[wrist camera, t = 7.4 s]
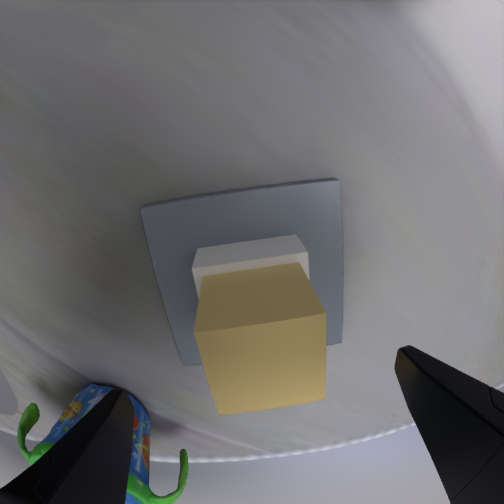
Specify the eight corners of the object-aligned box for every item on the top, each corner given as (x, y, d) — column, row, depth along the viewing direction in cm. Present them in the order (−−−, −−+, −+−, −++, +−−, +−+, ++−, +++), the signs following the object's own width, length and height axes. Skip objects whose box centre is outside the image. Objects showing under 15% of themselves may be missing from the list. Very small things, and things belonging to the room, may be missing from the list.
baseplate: (334, 177, 18) (340, 180, 17) (337, 335, 23) (341, 342, 22) (144, 204, 18) (139, 208, 17) (184, 357, 22) (183, 365, 21)
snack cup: (48, 407, 25) (17, 476, 15) (40, 341, 21) (-13, 420, 12) (179, 452, 28) (172, 530, 18) (203, 399, 24) (198, 500, 15)
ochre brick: (299, 261, 16) (326, 312, 11) (303, 338, 18) (324, 398, 13) (202, 275, 16) (193, 332, 11) (220, 350, 18) (219, 414, 13)
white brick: (296, 234, 18) (307, 252, 16) (301, 317, 21) (311, 343, 18) (197, 248, 18) (191, 268, 16) (214, 330, 20) (213, 358, 18)
